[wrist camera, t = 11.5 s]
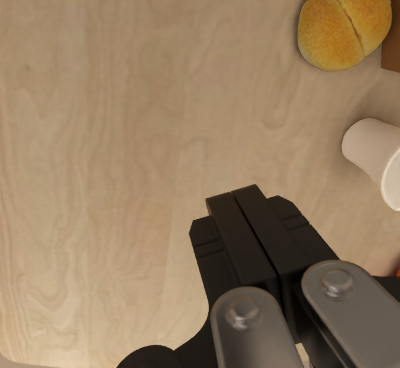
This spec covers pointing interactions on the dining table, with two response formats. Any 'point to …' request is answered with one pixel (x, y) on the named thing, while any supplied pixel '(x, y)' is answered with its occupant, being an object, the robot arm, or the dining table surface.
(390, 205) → the cup
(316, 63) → the bread roll
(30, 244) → the dining table surface
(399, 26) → the box
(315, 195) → the dining table surface
